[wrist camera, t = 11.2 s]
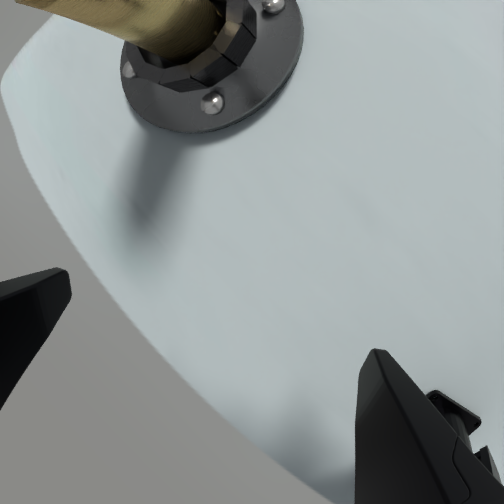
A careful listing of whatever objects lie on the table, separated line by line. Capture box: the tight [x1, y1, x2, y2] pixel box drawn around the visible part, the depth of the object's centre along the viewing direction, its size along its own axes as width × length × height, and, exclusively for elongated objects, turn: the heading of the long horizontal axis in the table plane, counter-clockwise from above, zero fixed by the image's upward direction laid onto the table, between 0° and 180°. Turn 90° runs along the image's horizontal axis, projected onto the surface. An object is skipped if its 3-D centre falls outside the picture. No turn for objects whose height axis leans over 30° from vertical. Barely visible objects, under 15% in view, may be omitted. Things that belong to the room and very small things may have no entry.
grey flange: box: [120, 0, 304, 133], centre depth 17 cm, size 14×14×4 cm
